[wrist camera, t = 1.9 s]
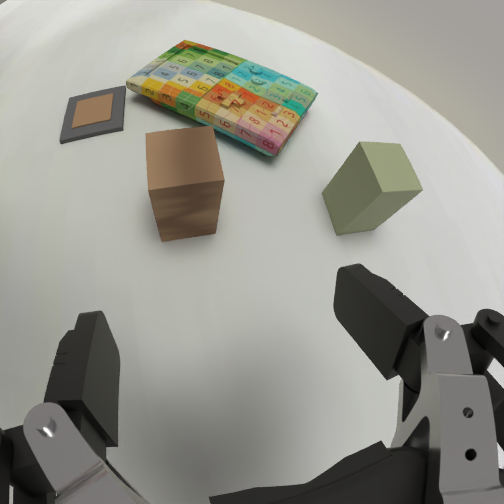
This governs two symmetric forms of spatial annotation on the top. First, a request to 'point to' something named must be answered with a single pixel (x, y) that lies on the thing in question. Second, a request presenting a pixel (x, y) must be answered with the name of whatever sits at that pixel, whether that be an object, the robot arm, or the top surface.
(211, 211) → the walnut block
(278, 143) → the puzzle game
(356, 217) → the olive block
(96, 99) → the tile
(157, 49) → the top surface
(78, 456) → the robot arm
